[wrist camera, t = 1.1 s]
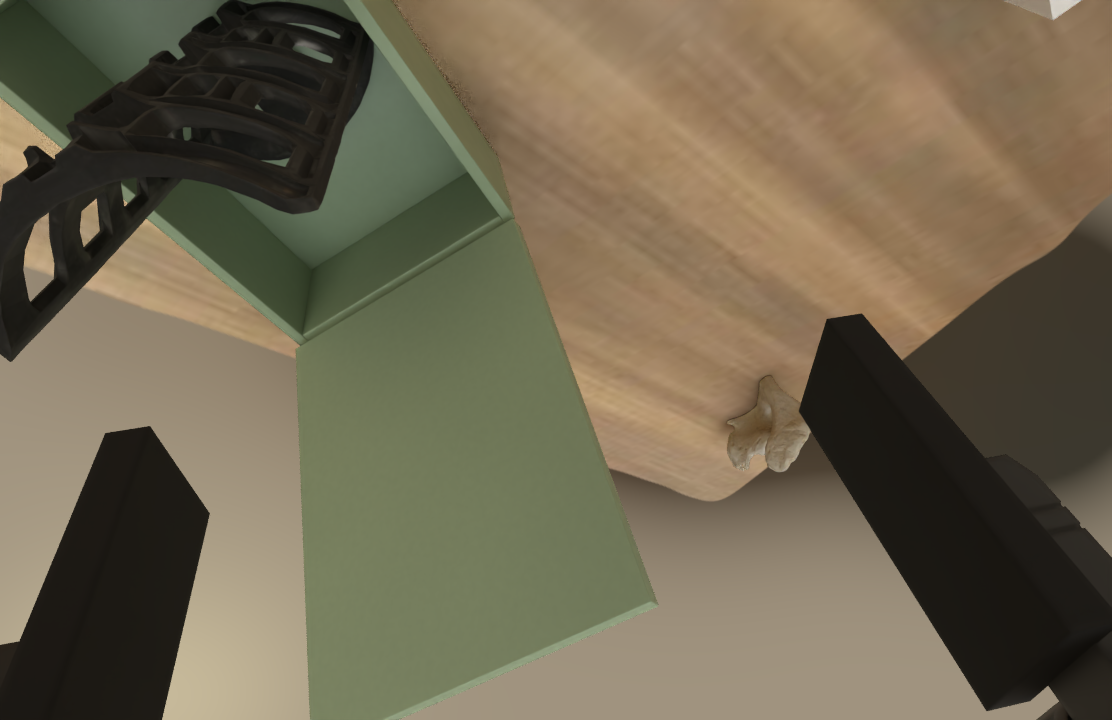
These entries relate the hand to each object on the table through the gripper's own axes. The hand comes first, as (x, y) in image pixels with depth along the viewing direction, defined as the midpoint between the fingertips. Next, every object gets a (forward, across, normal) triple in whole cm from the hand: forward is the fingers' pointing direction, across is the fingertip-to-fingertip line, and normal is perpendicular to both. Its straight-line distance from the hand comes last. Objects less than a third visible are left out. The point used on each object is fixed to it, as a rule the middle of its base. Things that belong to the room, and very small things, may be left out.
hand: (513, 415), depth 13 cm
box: (+28, -8, -3) cm, 29 cm away
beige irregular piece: (+28, +24, -35) cm, 51 cm away
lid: (+11, -3, -12) cm, 17 cm away
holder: (+28, -9, -1) cm, 29 cm away
